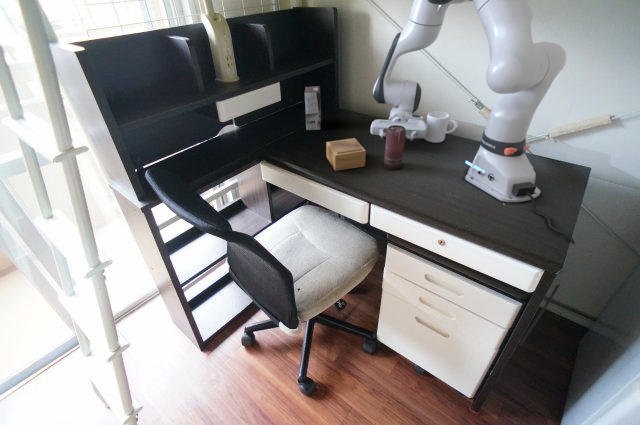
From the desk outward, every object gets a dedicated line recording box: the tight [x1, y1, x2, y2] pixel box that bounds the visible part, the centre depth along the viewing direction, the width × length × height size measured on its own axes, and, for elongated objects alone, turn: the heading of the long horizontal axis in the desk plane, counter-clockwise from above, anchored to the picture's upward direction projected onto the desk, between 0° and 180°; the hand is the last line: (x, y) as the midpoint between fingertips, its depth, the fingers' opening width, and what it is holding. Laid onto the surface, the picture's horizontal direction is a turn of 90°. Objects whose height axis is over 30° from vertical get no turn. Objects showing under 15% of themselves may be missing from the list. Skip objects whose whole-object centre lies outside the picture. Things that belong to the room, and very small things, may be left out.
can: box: [383, 125, 406, 171], centre depth 110 cm, size 6×6×14 cm
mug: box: [423, 110, 459, 143], centre depth 128 cm, size 8×12×10 cm
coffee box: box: [304, 85, 322, 131], centre depth 141 cm, size 9×6×16 cm
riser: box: [325, 137, 367, 172], centre depth 117 cm, size 11×11×6 cm
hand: (396, 137), depth 116 cm, fingers open, 8 cm apart
